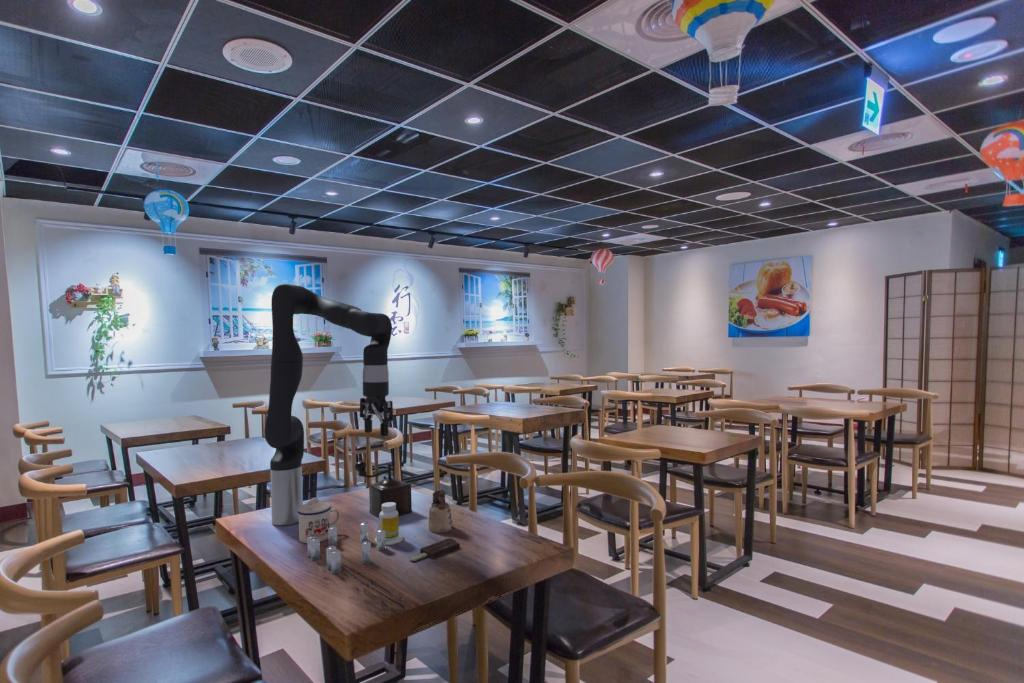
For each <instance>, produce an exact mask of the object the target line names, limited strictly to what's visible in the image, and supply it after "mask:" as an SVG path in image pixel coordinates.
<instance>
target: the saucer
mask: <svg viewBox="0 0 1024 683" xmlns="http://www.w3.org/2000/svg"><path fill="white" fill-rule="evenodd" d="M402 541H404V534H403V533H400V532H399V536H398V538H396V539H394V540H391V541H386V546H392V545H396V544H398V543H401V542H402ZM374 543H375V544H376V545H377V536H376V537H375V538H374Z"/></svg>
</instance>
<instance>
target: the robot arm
mask: <svg viewBox="0 0 1024 683" xmlns="http://www.w3.org/2000/svg"><path fill="white" fill-rule="evenodd" d="M300 314H301V315H309V316H317V317H320V318H322V319H324V320H325V321H327V322H329V323H331V324H333V325H335V326H339V327H342V328H345V329H348V330H352V332H355V333H357V334H358V335H361V336H364V337H369V338H370V341H369V342H370V343H369V344H367V345H366V346H365V347H364V348H363V353H362V357H363V363H362V364H363V369H362V395H363V397H361V398H359V399H360V400H359V418H362V420H363V421H364V423H363V424H364V427H363V428H364V433H366V434H368V433H372V432H373V417H374V415H375V416H376V418H378V420H379V422H380V425H379V428H380V429H379V431H380V433H379V434H380V437H387V436H388V435H389V423H390V422H394V409H393V408H394V406H393V400H386V397H387V396H389V394H390V392H389V391H390V389H389V384H390V383H389V382H390V380H389V378H390V376H389V373H390V372H389V364H388V350H389V346H390V341H391V339H392V331H393V324H392V321H391V319H390V317H389V316H388V315H386V314H384V313H378V312H377V313H376V312H368V311H363V310H362V309H361V308H359V307H357V306H354V305H350V304H348V303H344V302H340V301H336V300H333V299H329V298H326V297H324V296H322V295H320V294H318V293H316V292H314V291H312V290H309V288H306V287H304V286H302V285H296V284H289V283H279V284H278V285H277V286H275V287H274V289H273V291H272V295H271V317H272V318H271V320H272V321H271V322H272V337H271V339H272V341H271V342H272V344H271V345H272V346H271V347H272V348H271V359H270V380H269V382H270V383H269V395H268V396H269V399H268V406H267V408H268V409H267V413H266V418H265V425H264V426H265V427H264V439H265V442H266V443H267V444H268V446H269V447H270V448H273V449H275V452H274V454H273V456H272V458H270V461H269V470H270V471H269V472H270V473H269V475H270V498H271V499H270V501H271V502H270V505H271V524H272V525H274V526H289V525H294V524H297V523H299V513H298V509H299V507H301V506H302V505H304V502H303V500H304V499H303V498H304V497H303V473H302V472H303V465H302V461H303V458H304V452H305V429H304V425H303V423H302V421H301V420H300V418H298V417H297V416H295V415H292V412H293V410H292V408H293V402H294V400H295V399H294V398H295V396H296V395H297V391H298V389H299V386H300V385H301V384H300V383H301V380H302V377H303V376H302V375H303V365H304V356H303V351H302V348H301V346H300V343H299V342H298V339H297V337H296V335H295V332H294V316H295V315H300Z"/></svg>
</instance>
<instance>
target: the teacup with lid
mask: <svg viewBox="0 0 1024 683" xmlns="http://www.w3.org/2000/svg"><path fill="white" fill-rule="evenodd" d="M333 512H336V514H337V515H336V518H335V519H334V521H332V520H331V513H333ZM298 513H299V522H298V536H299V538H298V539H299V542H301V543H304V544H307V537H308V536H311V535H316V536H317V538H320V543H321V542H324V541H326V540H328V527H331V526H336V525H337V524H338V522H339V521H340V519H341V511H340V510H339V509H338V508H332V505H331V504H330V503H328V502H326V501H322V500H319V498H318V497H311V498H310V501H308V502H306V503H305V504H303V505H302V506H301V507H299V509H298ZM331 521H332V522H331Z"/></svg>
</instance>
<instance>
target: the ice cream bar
mask: <svg viewBox="0 0 1024 683" xmlns="http://www.w3.org/2000/svg"><path fill="white" fill-rule="evenodd" d="M460 547H461V546H460V543H459V542H457V540H456V539H454V538H451V537H450V538H445V539H443V540H439V541H437V542H434V543H432V544H429V545H427V546H423V547H421V548H420V550H419V552H420V553H419V554H417V555H413V556H411V557H410V558H409V561H410V562H416V561H418V560H421V559H424V558H426V557H427V558H429V559H432V560H433V559H435V558H438V557H440V556H442V555H445V554H448V553H451V552H452V551H456V550H458V549H460Z"/></svg>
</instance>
